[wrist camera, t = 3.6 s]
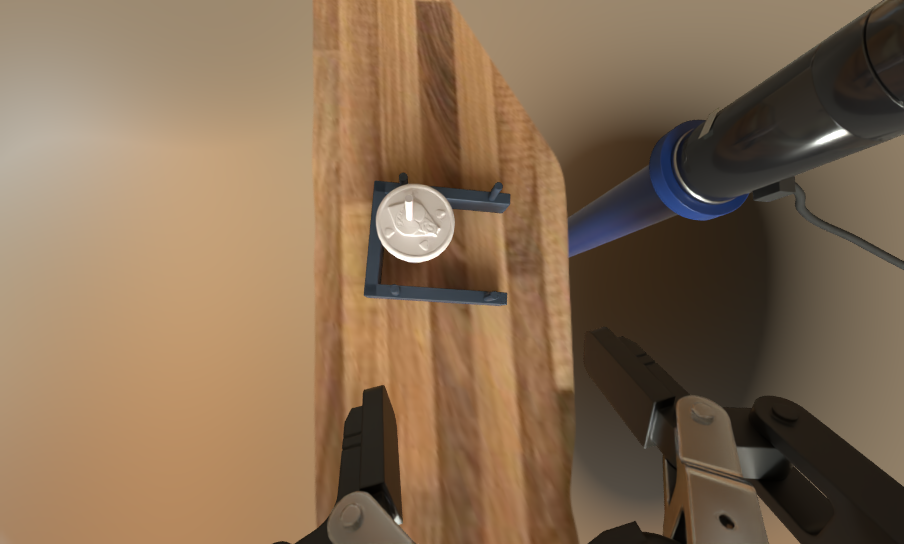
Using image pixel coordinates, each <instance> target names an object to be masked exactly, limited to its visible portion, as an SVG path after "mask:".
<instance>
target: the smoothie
mask: <svg viewBox="0 0 904 544" xmlns="http://www.w3.org/2000/svg"><path fill="white" fill-rule="evenodd" d="M454 225H455V219H454V213H453V210H452V208H451V205H450V204H449V202H448V200H447V199H446V198H445V197H444V196H443V195H442V194H441V193H440V192H439V191H437V190H435V189H434V188H432V187H429V186H426V185H422V184H407V185H403V186H400V187H398V188H396V189H394V190H392V191H391V192H390V193H388V194H387V195H386V196H385V197H384V199H383V200H382V202H381V203H380V205H379V208H378V210H377V214H376V227H377V233H378V237H379V239H380V241H381V243H382V245H383V246H384V247H385V248H386V249H387V250H388V251H389V253H391V254H392V255H394V256H395V257H397V258H399V259H402V260H405V261H407V262H410V263H421V262H423V261H428V260H430V259H432V258H435V257H437V256H438V255H439V254H441V253H442V252H443V251H444V250H445V249H446V248H447V246H448V245H449V243H450V242H451V239H452V236H453V233H454Z"/></svg>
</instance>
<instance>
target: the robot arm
mask: <svg viewBox="0 0 904 544" xmlns="http://www.w3.org/2000/svg"><path fill="white" fill-rule="evenodd" d="M718 109H719V108H717V109H716V110H715V111H713V112H712V113H711V114H709V116H708V118H707V120H706V121H705V122H703V123H702V124H700V125H699V126H697V127H696V128H694V129H692V130H690V131H688V132H687V133H685V134H684V135H682V136H681V137H680V138H679V139H678V141H677V142H676V143H675V145H674V147H673V150H672V154H671V167H672V172H673V175H674V177H675V179H676V181H677V183H678V185H679V186H680V188H681V189H682V190H683V191H684V192H685V193H686V194H687V195H688V196H690V197H691V198H693V199H694V200H696V201H698V202H701V203H704V204H709V205H718V204H723V203H726V202H728V201H731V200H733V199H735V198H736V197H739V196H742V195H744V194H747V193H750V192H752V191H753V199H754V200H756V201H765V202H770V201H772V200H776V199H779V198H782V197H785V196H788V195H791V194H794V195H795V198H796V201H795V207H796V210H797V211H798V212H799V213H800V214H801V215H802V216H803V217H804V218H805V219H806V220H808V221H809V222H811V223H812V224H814V225H816V226H818V227H820V228H822V229H824V230H826V231H828V232H831V233H833V234H835V235H838V236H840V237H842V238H844V239H846V240H848V241H850V242H852V243H854V244H856V245H858V246H860V247H862V248H863V249H865V250H867V251H869V252H871V253H873V254H874V255H876V256H878V257H880V258H882V259H884V260H886V261H887V262H889V263H891V264H893V265H895V266H897V267H899V268H901V269H903V270H904V261H902V260H900V259H898V258H897V257H895V256H893V255H891V254H889V253H887V252H885V251H884V250H881V249H880V248H878V247H876V246H874V245H873V244H871V243H869V242H867V241H865V240H863V239H862V238H860V237H858V236H856V235H854V234H852V233H850V232H847V231H845V230H843V229H841V228H838V227H836V226H834V225H831V224H829V223H827V222H825V221H823V220H821V219H819V218H818V217H816V216H815V215H813V214H812V213H811V212H810V211H809V210H808V209H807V208H806V206H805V193H804V191H803V190H802V188H801V187H800V186H799V185H798V184H797V183H796V182H795V177H794V176H795V175H798V174H800V173H803V172H806V171H808V170H811V169H814V168H816V167H819V166H822V165H824V164H827V163H830V162H832V161H835V160H838V159H840V158H843V157H846V156H848V155H851V154H854V153H856V152H859V151H862V150H864V149H867V148H870V147H872V146H875V145H878V144H880V143H883V142H885V141H888V140H891V139H893V138H895V137H898V136H901V135H904V0H883V1H881V2H880V3H878V4H877V5H875V6H874V7H872V8H871V9H869V10H868V11H866V12H865V13H863V14H862V15H860V16H859V17H857V18H856V19H855V20H853V21H852V22H850V23H849V24H847V25H846V26H844V27H843V28H841V29H840V30H839V31H837V32H835V33H834V34H832V35H831V36H829V37H828V38H827V39H825V40H824V41H822V42H821V43H820V44H818V45H817V46H815V47H814V48H812V49H811V50H809V51H808V52H806V53H805V54H803V55H802V56H800V57H799V58H798V59H796V60H794V61H793V62H791V63H790V64H789V65H787V66H786V67H784V68H783V69H781V70H780V71H778V72H777V73H775V74H774V75H772V76H771V77H769V78H768V79H766V80H765V81H763V82H762V83H761V84H759V85H758V86H756V87H755V88H753V89H752V90H750V91H749V92H747V93H746V94H744V95H743V96H741V97H740V98H738V99H737V100H735V101H734V102H733V103H731V104H730V105H728V106H727V107H725V108H724V109H722V110H721V111H719V112H718V113H717V111H718ZM583 359H584V365H585V369H586V371H587V373H588V375H589V376H590V377H591V379H592V380H593V381H594V383H595V384H596V385H597V387H598V388H599V389H600V390H601V392H602V393H603V394H604V396H605V397H606V399H607V400H608V401H609V402H610V404H611V405H612V406H613V408H614V409H615V410H616V412H617V413H618V414H619V416H620V417H621V418H622V420H623V421H624V422H625V424H626V425H627V426H628V428H629V429H630V430H631V432H632V433H633V434H634V436H635V437H636V438H637V439H638V441H639V442H640V443H641V445H642V446H643V447H644V449H645V448H648V447H652V446H655V445H656V446H657V447H658V448H659V450H660V451H661V452H662V453H663V481H664V504H665V505H664V506H665V514H664V524H663V536H662V535H659V534H655V533H649V532H642V531H641V530H640V528H639V526H638V525H637V523H636V521H634V522H631V523H628V524H625V525H622V526H619V527H615V528H613V529H610V530H606V531H603V532H602V533H601V534H599V535H598V536H597V537H596V538H594V539H593V540H592V541H591V542H589V543H588V544H769V542H768V538H767V534H766V530H765V526H764V522H763V518H762V514H761V510H760V506H759V502H758V498H757V495H758V496H759V497H760V498H761V499H762V500H763V501H764V503H765V504H766V505H767V506H768V507H769V508H770V509H771V511H772V512H773V513H774V514H775V515H776V516H777V517H778V518H779V520H780V521H781V522H782V523H783V524H784V525H785V526H786V528H787V529H788V530H789V531H790V532H791V533H792V534H793V535H794V537H795V538H796V539H797V540H798V541H799V542H800V543H801V544H904V487H903V486H902V485H901V484H899V483H898V482H897V481H896V480H894V479H893V478H892V477H891V476H889V475H888V474H887V473H885V472H884V471H883V470H881V469H880V468H879V467H878V466H877V465H875V464H874V463H873V462H872V461H870V460H869V459H867V458H866V457H865V456H864V455H863V454H861V453H860V452H859V451H857V450H856V449H855V448H854V447H852V446H851V445H850V444H849V443H847V442H846V441H845V440H844V439H842V438H841V437H840V436H838V435H837V434H836V433H835V432H833V431H832V430H831V429H830V428H828V427H827V426H826V425H825V424H823V423H822V422H820V421H819V420H818V419H817V418H816V417H814V416H813V415H812V414H811V413H809V412H808V411H807V410H805V409H804V408H803V407H801V406H800V405H798V404H796V403H794V402H792V401H790V400H787V399H784V398H781V397H776V396H762V397H759V398H758V399H756V400H755V402H754V404H753V407H752V408H729V407H721V406H719V405H718V404H717V403H715V402H713V401H711V400H709V399H706V398H704V397H701V396H694V395H690V394H688V392H686V391H685V390H684V389H683V388H682V387H681V386H680V385H679V384H678V383H677V382H676V381H675V380H674V379H673V378H672V377H671V376H670V375H669V374H668V373H667V372H666V371H665V370H663V368H661V367H660V366H659V365H658V364H657V363H655V361H654V360H653V359H652V358H651V357H650V356H649V355H647V354H646V352H645V351H644V350H643V349H642V348H641V347H639V345H637V344H636V343H635V342H633V341H631V340H629V339H627V338H625V337H623V336H622V337H616V336H615V335H614V334H613V332H611V330H609V329H608V328H607V327H601V328H598V329H594V330H590V331H587V332H586V333H585V340H584V358H583ZM343 437H344V439H343V445H342V449H343V451H342V455H341V466H340V476H339V486H338V496H337V500H336V504H335V506H334V508H333V510H332V512H331V513H330V515H329V517H328V518H327V519H326V520H325V522H324V523H323V524H322V525H321V526H319V527H318V528H317V529H316V530H314V531H313V532H311V533H310V534H308V535H307V536H305V537H304V538H302V539H301V540H299V541H298V542H296V543H295V544H416V543H415V542H414V541H413V540H412V539H411V538H410V537H409V536H408V535H407V534H406V533H405V532H404V531H403V530H402V528H401V527H400V526H399V524H402V523H403V518H402V502H401V486H400V470H399V454H398V438H397V425H396V419H395V414H394V411H393V408H392V405H391V402H390V399H389V397H388V394H387V391H386V388H385V386H384V385H381V386H377V387H373V388H370V389H366V390H364V391H363V404H362V406H359V407H356V408H352V409H351V411H350V413H349V415H348V417H347V419H346V421H345V424H344V434H343ZM794 466H795V467H796V468H797V469H798V470H799V471H800V472H801V473H803V475H804V476H806V477H807V478H808V479H809V480H810V481H811V482H812V483H813V484H814V485H815V486H816V487H817V488H818V489H819V490H820V491H821V492H822V493H823V494H824V495H825V496H826V497H827V498H828V499H827V498H826V497H825V496H824V495H823V494H822V493H821V492H820V491H819V490H818V489H817V488H816V487H815V486H814V485H813V484H812V483H810V481H808V480H807V479H806V478H805V477H804V476H803V475H802V474H801V473H800V472H799V471H798V470H797V469H796V468H795V467H794ZM273 544H290V543H288V542H284V541H282V542H276V543H273Z"/></svg>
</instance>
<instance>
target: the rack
mask: <svg viewBox="0 0 904 544" xmlns="http://www.w3.org/2000/svg"><path fill="white" fill-rule="evenodd" d="M399 182H400V183H394V182H384V181H375V182H374V193H373V203H372V214H371V224H370V235H369V246H368V256H367V267H366V278H365V288H364V296H366V297H368V298H381V299H397V300H413V301H429V302H445V303H461V304H477V305H493V306H501V305H507V293H503V292H496V291H492V292H488V291H473V290H458V289H443V288H428V287H413V286H398V285H396V284H393V285H383V284H381V275H382V264H383V252H384V246H383V245H382V243H381V241H380V239H379V237H378V233H377V227H376V214H377V210H378V208H379V205H380V203H381V202H382V200H383V199H384V197H385V196H386V195H387V194H388V193H390V192H391V191H392V190H394V189H396V188H398V187H400V186H403V185H407V184H408V176H407V174H406V173H401V174H400V175H399ZM429 187H432V188H434V189H435V190H437V191H439V192H440V193H441V194H442V195H443V196H444V197H445V198H446V199H447V200H448V202H449V204H450V205H451V208H452V209H462V210H473V211H484V212H494V213H503V212H504V211H505V210H506V208H507V207H508V206H509V205H510V194H506V193H500V191H501V190H502V188H503V185H502V184H501V183H500V182H497V183H495V185H494V187H493V188H492V190H491V192H486V191H476V190H465V189H455V188H445V187H435V186H429Z"/></svg>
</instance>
